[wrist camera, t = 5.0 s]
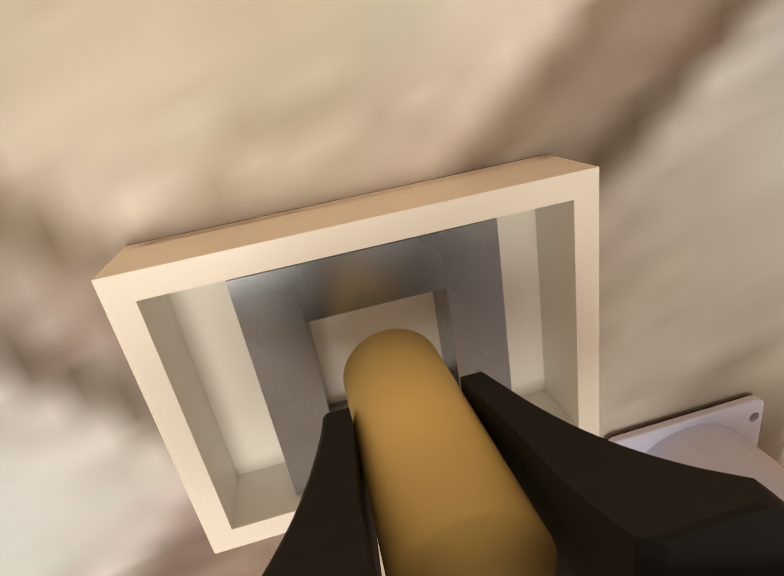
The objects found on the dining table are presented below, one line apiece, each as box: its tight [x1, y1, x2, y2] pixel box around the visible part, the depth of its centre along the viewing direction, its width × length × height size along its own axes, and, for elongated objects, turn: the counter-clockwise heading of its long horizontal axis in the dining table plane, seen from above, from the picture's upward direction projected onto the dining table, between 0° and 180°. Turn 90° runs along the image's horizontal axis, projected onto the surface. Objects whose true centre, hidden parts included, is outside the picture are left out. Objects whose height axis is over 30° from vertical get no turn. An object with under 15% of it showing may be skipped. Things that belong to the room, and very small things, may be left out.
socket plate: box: [225, 218, 512, 494], centre depth 17 cm, size 8×8×2 cm
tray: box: [91, 154, 599, 554], centre depth 17 cm, size 10×14×3 cm
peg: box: [343, 329, 557, 576], centre depth 12 cm, size 3×3×7 cm
